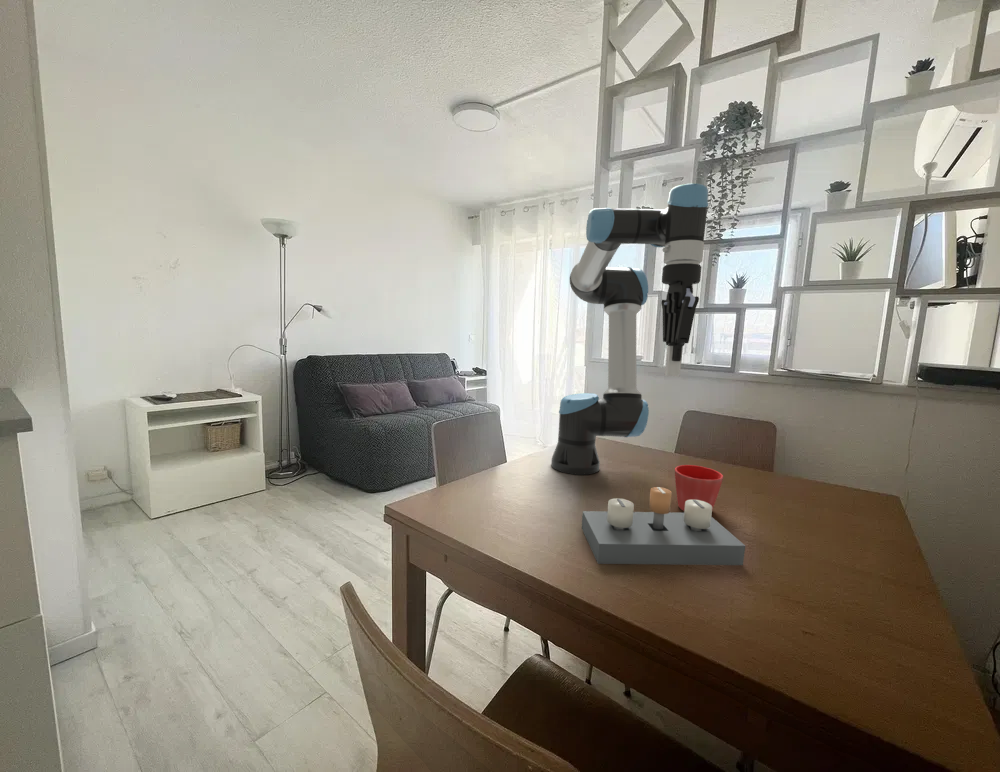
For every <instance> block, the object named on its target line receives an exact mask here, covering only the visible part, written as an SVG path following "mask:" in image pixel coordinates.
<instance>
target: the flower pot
mask: <svg viewBox="0 0 1000 772" xmlns="http://www.w3.org/2000/svg"><path fill="white" fill-rule="evenodd" d="M723 480H724V475H723V474H722V473H721V472H720V471H717V470H715V469H713V468H709V467H705V466H701V465H695V464H681V465H677V466H676V467H675V468H674V481H675V491H676V498H677V506H678V507H679V509H680V510H681V511H683V512H684V510H685V501H687V500H700V501H704V502H707V503H709V504H710V505H711V506H712V511H713V509H714V508H715V504H716V502H717V500H718V499H717V498H718V496H719V493H720V490H721V486H722V483H723Z"/></svg>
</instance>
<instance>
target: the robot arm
mask: <svg viewBox="0 0 1000 772" xmlns="http://www.w3.org/2000/svg"><path fill="white" fill-rule="evenodd" d="M708 207H709V189H708V187H707V186H706V185H704V184H702V183H685V184H680V185H676V186H674V187H672V188H671V190H670V191H669V193H668V199H667V207H666V208H663V209H657V208H654V209H651V208H613V207H612V208H611V207H607V206H606V207H599V208H598V207H597V208H596V207H595V208H593V209H591V210H590V211H589V212H588V215H587V220H586V226H585V227H586V228H585V230H586V231H585V232H586V233H585V235H586V240H587V241H588V242H587V244H586V246H585V248H584V251H583V253H582V255H581V256H580V259H579V262H578V263H576V264H575V265H574V266H573V268H572V270H571V272H570V275H569V285H570V289H571V290H572V292H573V293H574V294H575V296H576V297H578V298H579V299H580V300H582V301H583V302H585V303H589V304H593V305H595V304H597V305H603V311H604V313H606V314H607V315H608V349H607V350H608V353H607V354H608V355H607V356H608V357H607V358H608V359H607V361H608V363H607V364H608V365H607V366H608V369H607V371H608V374H607V375H608V377H607V378H608V379H607V380H608V381H607V385H608V386H607V389H606V390H605V391H604V392H603V394H602V398H599V395H598V394H597V393H591V392H590V393H587V392H581V393H575V394H574V393H573V394H568V395H565V396H564V397H562V398H561V400H560V404H559V410H558V414H559V417H558V418H559V419H558V433H557V434H558V437H557V438H558V439H557V444H556V446H555V448H554V452H553V454H552V457H551V467H552V469H554V470H556V471H559V472H560V473H563V474H564V473H565V474H568V475H569V474H571V475H577V476H580V475H593V474H596V473H597V472H599V471H600V465H601V464H600V458H599V454H598V450H597V447H596V437H618V438H621V437H622V438H637V437H639V436H641V435H642V434H644V431H645V429H646V428H647V426H648V425H647V424H648V420H649V413H650V410H649V404H648V401H646V399H642V398H643V397H642V396H643V395H642V392H640V390H638V388H637V314H639V312H640V311H641V310H642V306H644V305H645V304H646V303H647V301H648V293H649V282H648V278H647V275H646V273H645V272H644V271H643V269H641V268H636V267H632V266H631V267H630V266H628V267H617V266H615V267H614V266H613V267H612V266H610V267H608V266H609V264H610V263H611V262H612V259H613V258H614V255H615V254H616V252H617V251H618V250H619V248H620V246H621V244H629V245H631V244H634V245H635V244H636V245H651V246H652V247H653V248H654V247H655V248H662V253H663V263H664V264H665V265H664V266H663V267H662V275H661V283H662V284H664V285H667V286H668V289H667V294H666V298H665V299H661V301H660V302H661V309H662V342H663V343H665V345H666V346H667V347H666V353H665V354H666V355H665V357H666V358H665V367H664V368H665V369H664V376H666V377H680V376H681V369H682V368H681V367H682V356H683V347H684V346H685V344H689V343H690V336H691V333H692V327H693V324H694V318H695V313H696V309H697V306H698V303H699V300H700V298H699V296H695V295H694V285H697V284H699V283H700V282H701V277H702V266H701V265H700V264H702V263H703V257H704V248H705V232H706V225H707V214H708Z"/></svg>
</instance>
